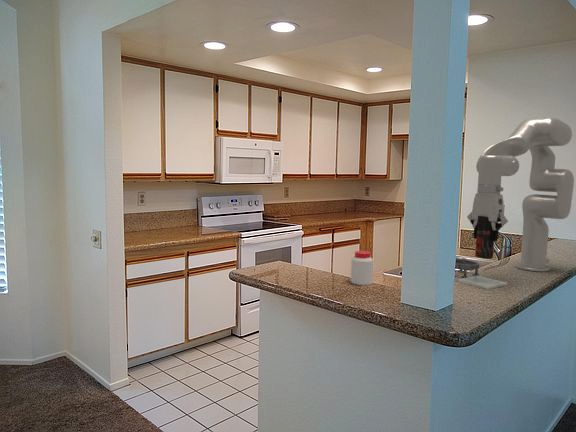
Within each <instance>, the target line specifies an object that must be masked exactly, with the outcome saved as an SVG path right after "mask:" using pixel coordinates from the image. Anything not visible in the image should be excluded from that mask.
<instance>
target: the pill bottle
mask: <svg viewBox="0 0 576 432" xmlns="http://www.w3.org/2000/svg"><path fill="white" fill-rule="evenodd" d="M373 273H374V259H373V258H372V257H371V252H370V251H368V250H367V251H366V250H357V251H354V256H353V257H352V258H351V267H350V283H352V284H353V285H360V286H368V285H372V284H373V275H374V274H373Z"/></svg>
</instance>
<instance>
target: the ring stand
mask: <svg viewBox="0 0 576 432" xmlns="http://www.w3.org/2000/svg"><path fill="white" fill-rule="evenodd" d="M455 259H456V266H455V267H454V268H455V269H459V270H457V272H458V273H461V274H463V275H461V279H462V278H468V277H469V276H468V274H467V273H468V270H474V273H472V277H474V276H480V274H479V273H478V271H479V269H480V263H479V262H478V261H473V260H471V259H457V258H455Z"/></svg>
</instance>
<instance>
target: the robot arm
mask: <svg viewBox="0 0 576 432" xmlns="http://www.w3.org/2000/svg"><path fill="white" fill-rule="evenodd" d="M572 137H573V131H572V128H571V127H570V126H569V124H568V123H566V122H564V121H563V120H560V119H559V118H555V117H550V116H549V117H536V118H534V117H533V118H528V119H524V120H523V121H521V122H520V123H519V124H518V126H517V127H516V128H515V129H514V130H513V132H512V133H511V134H510V136H509V137H507V138H505V139H502V140H500V141H498V142H496V143H494V144H492V145H490V146H489V147H488V148H486V149H485V150H483V152H482V153H481V155H480V156H479V158H478V159H477V161H476V165H475V167H476V171H477V172H478V176H477V177H478V178H477V179H478V180H477V190H476V191H477V192H476V193H475V196H474V198H473V202H472V203H473V204H472V210H471V212H470V213H469V214H468V215H467V219H468V221H469V222H470V224H471V225H472V228H473V239H475V240H476V236H477V222H478V216H485V217H488V218H489V221H490V222H491V225H492V229H493V230H491V237H490V241H494V242H497V241H498V239H499V231H500V230H501V229H502V228H503V227H504V225H506V224H507V223H508V222H509V220H508V219H507V217H506V216H505V205H504V198H503V194H502V193H501V192H504V187H502V185H501V184H502V177H511V176H514V175H515V174H517V172H518V171H519V169H520V162H519V160H518V158H517V157H519V156H521V155H524V154H526V153H528V151H529V152H530V154H531V165H530V166H531V167H530V172H529V175H530V176H529V180H528V181H529V187H530V189H531V190H532V191H536V192H545V193H546V192H549V193H556V195H552V194H551V195H550V194H540V193H539V194H537V193H536V194H529V195H526V196H525V197H524V198H523V200H522V203H521V205H522V206H521V209H522V216H523V217H522V218H523V219H522V220H523V221H522V222H523V225H522V226H523V227H522V235H521V236H522V237H521V250H520V260H519V261H520V262H517V263H516V264H515V267H516V268H517V269H520V270H524V271H530V272H549V271H550V268H551V267H550V266H548V265H547V264H548V263H550V262H551V260H550V258H548V257H547V254H548V243H549V232H550V229H549V226H548V224H547V222H546V220H545V219H551V220H553V219H554V220H565V219H567V218H568V216H570V213H571V209H572V208H571V207H572V200H573V193H574V185H575V177H574V174H573V172H572V171H571V170H570V169H565V168H555V167H556V155H555V153H554V151H553V150H552V149H551V148H550V147H564V146H566V145H568V144H569V143H570V141H571V139H572Z"/></svg>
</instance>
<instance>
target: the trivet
mask: <svg viewBox="0 0 576 432" xmlns="http://www.w3.org/2000/svg"><path fill="white" fill-rule="evenodd" d="M457 282H459V283H462V284H466V285H470V286H473V287H478V288H481V289H484V290H490V289H494V288H500V287H504V286H508V282H506V281H502V280H497V279H493V278H489V277H485V276H481V275H479V276H470V277H469V276H468V278H462V277H461V278H458V279H457Z"/></svg>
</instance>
